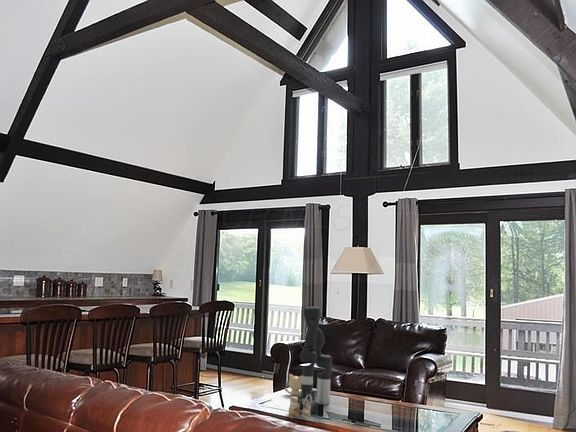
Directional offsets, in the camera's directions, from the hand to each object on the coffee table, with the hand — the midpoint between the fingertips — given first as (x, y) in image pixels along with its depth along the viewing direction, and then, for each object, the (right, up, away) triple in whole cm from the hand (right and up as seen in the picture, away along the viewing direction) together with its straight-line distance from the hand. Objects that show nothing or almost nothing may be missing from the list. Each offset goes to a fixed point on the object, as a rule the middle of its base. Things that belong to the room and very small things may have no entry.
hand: (305, 408), depth 327 cm
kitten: (-5, -11, +55) cm, 56 cm away
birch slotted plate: (-4, -5, +2) cm, 7 cm away
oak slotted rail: (-4, -5, +2) cm, 7 cm away
